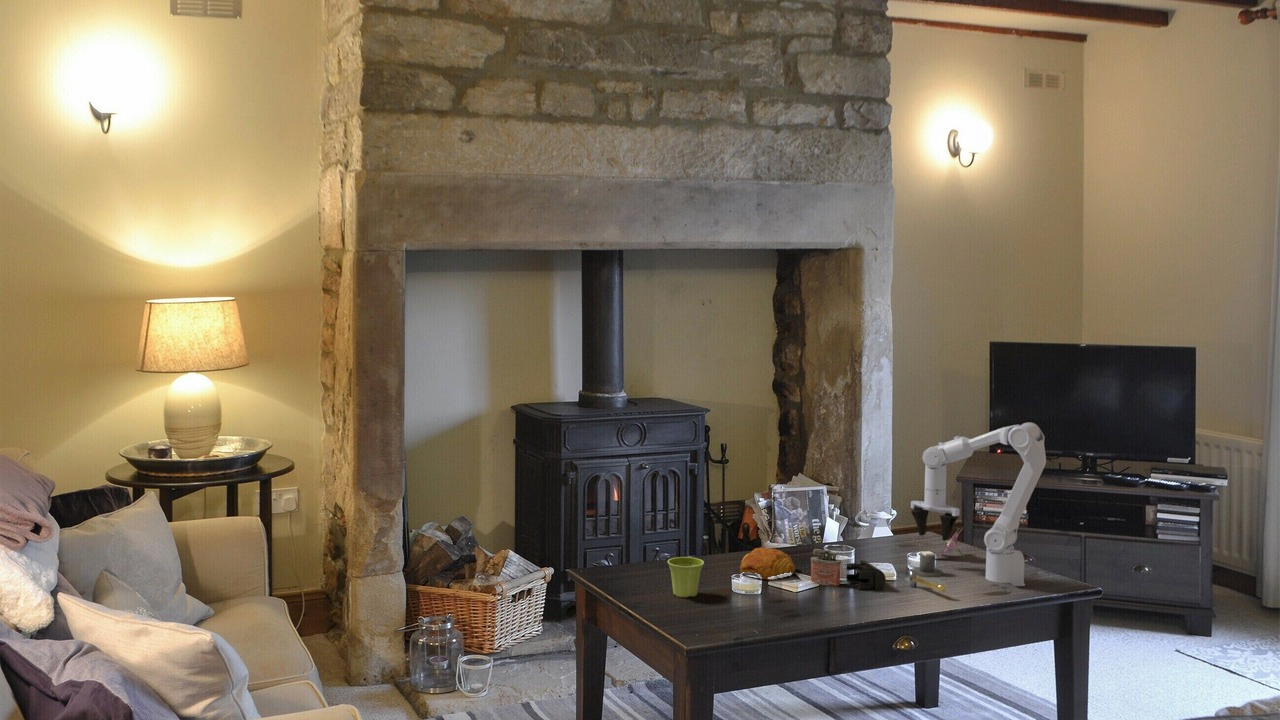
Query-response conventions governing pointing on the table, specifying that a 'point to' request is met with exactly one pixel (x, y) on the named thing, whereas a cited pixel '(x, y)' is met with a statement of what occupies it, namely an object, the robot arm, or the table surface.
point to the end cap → (866, 576)
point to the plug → (927, 565)
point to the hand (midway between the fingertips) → (933, 537)
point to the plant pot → (685, 575)
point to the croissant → (767, 562)
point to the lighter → (825, 568)
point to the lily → (952, 543)
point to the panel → (933, 580)
